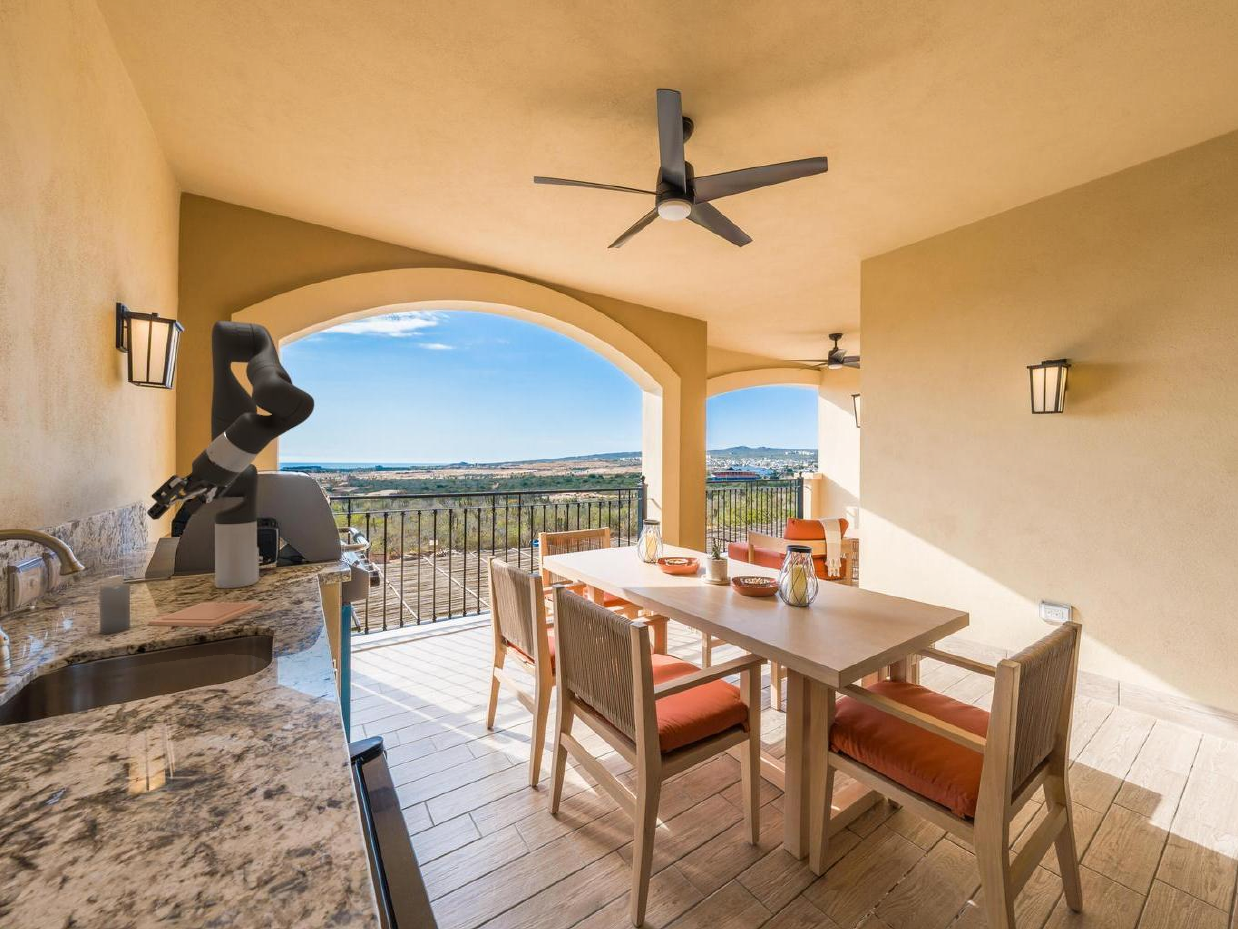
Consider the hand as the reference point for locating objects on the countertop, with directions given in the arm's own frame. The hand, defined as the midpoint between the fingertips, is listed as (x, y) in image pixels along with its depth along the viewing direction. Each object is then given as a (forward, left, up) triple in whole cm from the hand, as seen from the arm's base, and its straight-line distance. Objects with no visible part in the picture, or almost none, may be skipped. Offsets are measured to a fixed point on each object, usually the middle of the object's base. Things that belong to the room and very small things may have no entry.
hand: (170, 514), depth 105 cm
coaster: (-10, -1, -24) cm, 26 cm away
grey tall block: (0, -12, -24) cm, 27 cm away
